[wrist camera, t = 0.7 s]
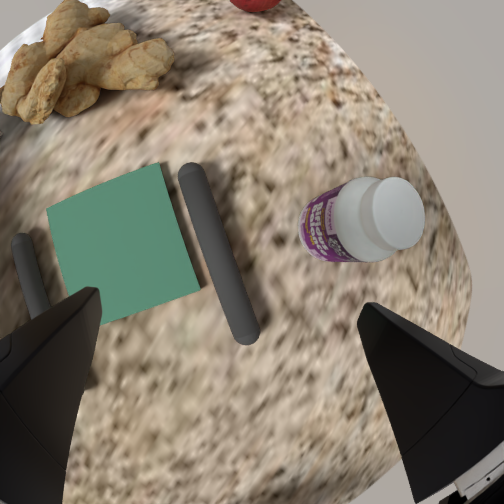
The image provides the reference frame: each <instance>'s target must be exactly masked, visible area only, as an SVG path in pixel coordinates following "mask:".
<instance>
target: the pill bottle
mask: <svg viewBox="0 0 504 504" xmlns="http://www.w3.org/2000/svg"><path fill="white" fill-rule="evenodd" d="M424 225H425V213H424V207H423V203H422V200H421V198H420V196H419V194H418V192H417V191H416V189H415V188H414V187H413V186H412V185H411V184H410V183H409V182H408V181H406V180H404V179H402V178H399V177H389V178H385V179H382V180H380V179H378V178H374V177H360V178H355V179H352V180H350V181H349V182H347V183H345V184H343V185H341V186H339V187H336V188H334V189H332V190H330V191H328V192H326V193H324V194H322V195H320V196H318V197H316V198H314V199H312V200H311V201H309V202H308V203H307V204H306V205H305V207H304V208H303V210H302V211H301V214H300V216H299V221H298V233H299V237H300V240H301V243H302V245H303V246H304V248H305V249H306V251H307V252H308V253H310V254H311V255H312V256H313V257H315V258H317V259H319V260H322V261H330V262H377V261H382V260H384V259H386V258H388V257H390V256H391V255H392V254H394V253H395V252H396V251H397V250H403V249H408V248H410V247H412V246H414V245H415V244H416V243H417V242H418V240H419V239H420V237H421V235H422V233H423V230H424Z"/></svg>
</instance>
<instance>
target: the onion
mask: <svg viewBox="0 0 504 504" xmlns="http://www.w3.org/2000/svg"><path fill="white" fill-rule="evenodd" d="M280 1H281V0H230V2H231V3H233V4H234V5H235V6H236V7H238V8H239V9H242V10H245V11H248V12H258V11H264V10H268V9H271V8H272V7H274V6H276V5H277V4H278V3H279V2H280Z"/></svg>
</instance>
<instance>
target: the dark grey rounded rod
mask: <svg viewBox="0 0 504 504" xmlns="http://www.w3.org/2000/svg"><path fill="white" fill-rule="evenodd" d="M178 181H179V184H180V187H181V190H182V193H183V196H184V199H185V203H186V206H187V209H188V212H189V215H190V218H191V221H192V224H193V227H194V230H195V233H196V236H197V239H198V241H199V244H200V247H201V250H202V253H203V256H204V259H205V262H206V264H207V267H208V270H209V273H210V276H211V278H212V281H213V284H214V287H215V289H216V292H217V295H218V297H219V300H220V303H221V305H222V308H223V311H224V313H225V316H226V319H227V321H228V324H229V326H230V329H231V332H232V334H233V337H234V339H235V340H236V341H237V342H238V343H240V344H242V345H251V344H253V343H255V342H256V341H257V339H258V338H259V335H260V328H259V325H258V323H257V320H256V317H255V314H254V312H253V309H252V306H251V303H250V301H249V298H248V295H247V292H246V290H245V287H244V284H243V281H242V278H241V276H240V273H239V270H238V267H237V264H236V261H235V259H234V256H233V253H232V250H231V247H230V244H229V242H228V239H227V236H226V233H225V230H224V227H223V224H222V221H221V219H220V216H219V213H218V210H217V207H216V204H215V201H214V198H213V195H212V192H211V189H210V186H209V183H208V180H207V177H206V174H205V172H204V169H203V168H202V167H201V166H200V165H199V164H197V163H193V162H190V163H186V164H184V165H183V166H182V167H181V168H180V170H179V172H178Z"/></svg>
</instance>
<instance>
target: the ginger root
mask: <svg viewBox="0 0 504 504" xmlns="http://www.w3.org/2000/svg"><path fill="white" fill-rule="evenodd" d="M109 16H110V14H109V13H108V10H106V9H105V8H100V7H97V8H88V6H87V5H86V4H84V3H81V2H79V1H78V0H64V1H63V2H62V3H61V4H60V5H59V6H58V7H57V8H56V9H55V10H54V12H53V13H52V14H50V15H49V16H48V17H47V21H46V28H45V31H44V34H43V37H42V38H41V39H43V40H44V41H42V42H36V43H33V44H31V45H29V46H28V45H27V44H23V45H22V46H21V47H20V49H19V50H18V51H17V52H16V53H15V55H14V57H13V59H12V63H11V68H10V71H9V73H8V77H7V80H6V83H5V85H4V86H3V87H1V88H0V103H1V106H2V111H3V113H4V114H8V115H10V116H18V117H20V118H22V119H23V121H24V122H30V123H31V124H42V123H43V122H44V121H45V120H46V119H47V118H48V117H49V115H50V114H51V112H52V110H53V109H54V110H55V111H56V112H58V113H60V114H62V115H63V116H65V117H72V116H75V115H78V114H79V113H80V112H81V111H83V110H85V109H86V108H88V107H90V106H92V105H93V104H94V103H95V102H96V101H97V99H98V97H99V93H100V89H101V88H105V89H109V90H114V89H116V90H128V89H142V90H155V89H157V87H158V85H159V81H158V78H159V77H160V76H161V75H164V74H166V73H167V72H168V71H169V70H170V69H171V68H170V66H171V65H172V64H173V63H174V60H175V59H174V52H173V51H172V49H170V48H169V47H168V46H167V44H166V42H165V41H164V40H163V39H162V38H157V39H152V40H148V41H145V42H142V43H140V44H138V42H137V40H136V36H137V34H135V33H134V32H133V31H131V30H125V29H124V25H123V24H121V23H110V24H104V23H105V22H106V21H107V19H108V17H109Z"/></svg>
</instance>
